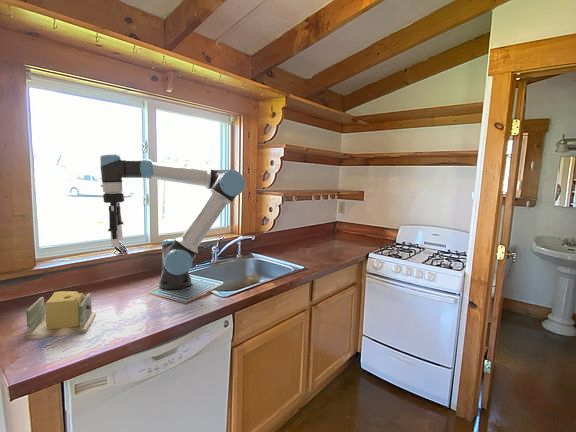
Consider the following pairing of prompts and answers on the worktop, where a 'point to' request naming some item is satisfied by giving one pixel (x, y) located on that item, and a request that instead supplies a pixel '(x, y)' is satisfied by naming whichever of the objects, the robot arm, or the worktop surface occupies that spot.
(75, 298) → the cheese
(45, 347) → the worktop surface
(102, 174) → the robot arm
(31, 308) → the holder
